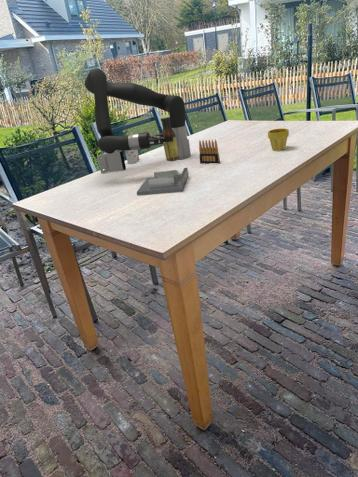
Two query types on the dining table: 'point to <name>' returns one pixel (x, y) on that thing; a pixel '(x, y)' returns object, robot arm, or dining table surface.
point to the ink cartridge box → (132, 156)
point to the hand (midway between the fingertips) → (174, 137)
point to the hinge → (111, 162)
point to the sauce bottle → (169, 147)
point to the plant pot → (278, 138)
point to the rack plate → (164, 182)
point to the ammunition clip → (208, 152)
